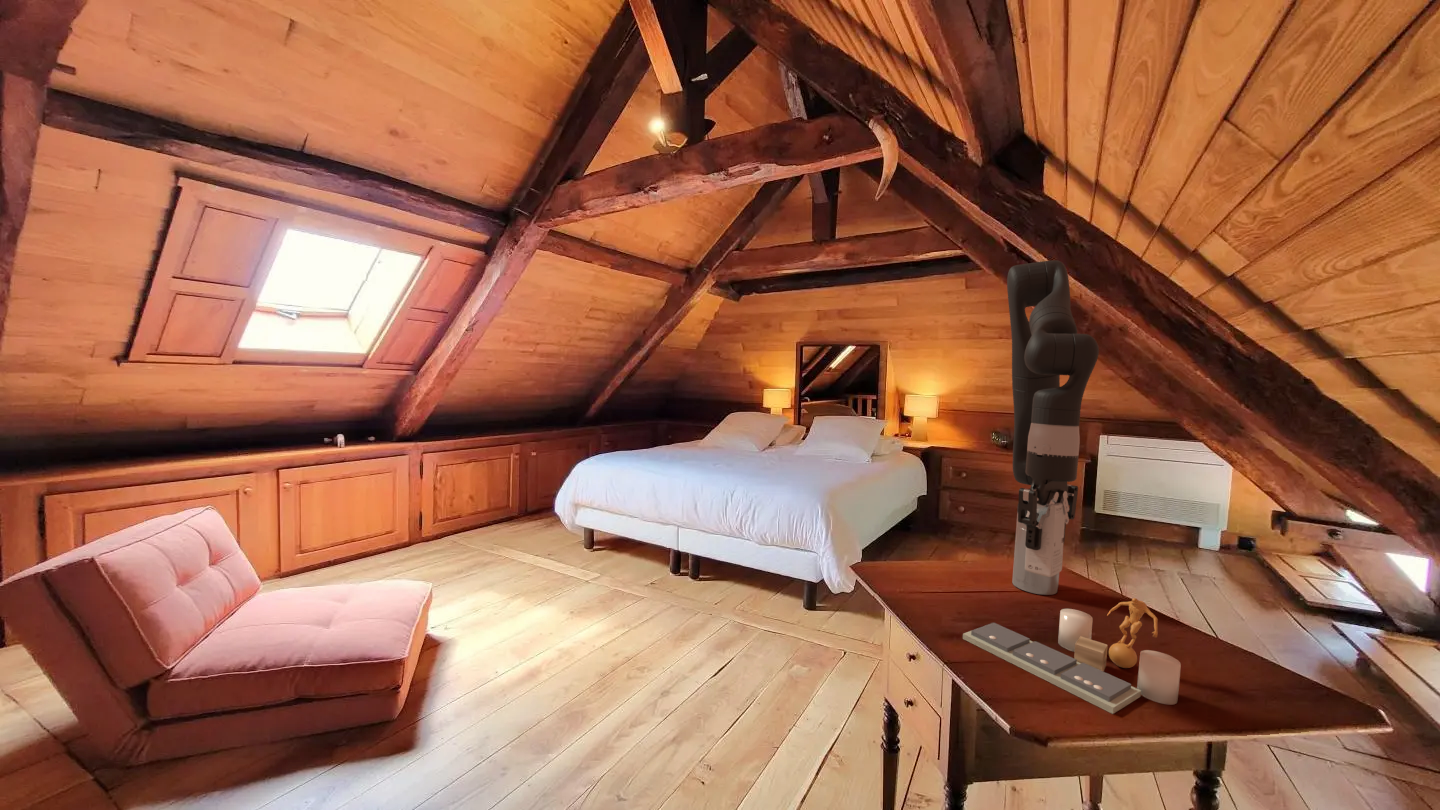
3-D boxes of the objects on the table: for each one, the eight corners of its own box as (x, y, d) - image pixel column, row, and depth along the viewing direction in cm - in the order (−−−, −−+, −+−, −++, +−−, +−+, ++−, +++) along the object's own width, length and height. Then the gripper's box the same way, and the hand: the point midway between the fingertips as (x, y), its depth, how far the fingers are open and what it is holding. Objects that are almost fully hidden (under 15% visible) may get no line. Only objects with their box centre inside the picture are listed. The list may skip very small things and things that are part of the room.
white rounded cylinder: (1066, 636, 104) (1069, 606, 103) (1095, 648, 100) (1098, 617, 99) (1052, 643, 101) (1054, 612, 101) (1081, 655, 97) (1084, 623, 97)
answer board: (991, 628, 107) (992, 619, 106) (1140, 696, 85) (1141, 685, 85) (962, 638, 102) (963, 629, 102) (1112, 714, 81) (1113, 702, 80)
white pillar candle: (1145, 682, 89) (1148, 647, 89) (1183, 698, 85) (1186, 662, 84) (1131, 691, 87) (1134, 654, 86) (1169, 708, 82) (1172, 670, 82)
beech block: (1078, 657, 97) (1080, 636, 96) (1105, 667, 94) (1107, 644, 93) (1073, 666, 94) (1075, 644, 93) (1101, 676, 91) (1103, 653, 91)
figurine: (1090, 655, 97) (1095, 590, 96) (1115, 651, 99) (1120, 587, 98) (1138, 681, 89) (1144, 611, 88) (1164, 676, 91) (1170, 607, 90)
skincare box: (1051, 578, 90) (1057, 506, 89) (1022, 570, 93) (1027, 501, 92) (1062, 570, 94) (1068, 501, 93) (1034, 563, 97) (1039, 496, 97)
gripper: (1053, 446, 99) (1046, 535, 100) (1006, 448, 92) (998, 544, 93) (1098, 452, 93) (1090, 548, 94) (1051, 455, 86) (1042, 558, 87)
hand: (1044, 546), depth 93 cm, fingers closed on skincare box, 6 cm apart
